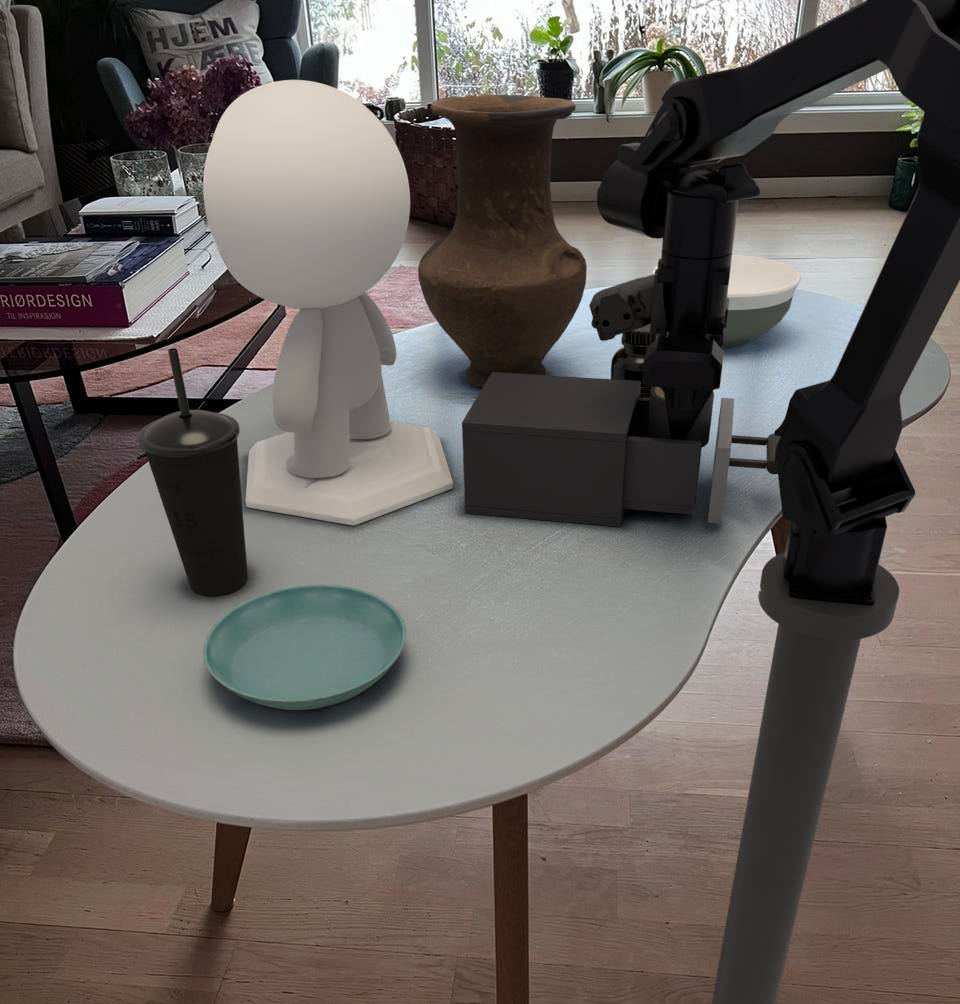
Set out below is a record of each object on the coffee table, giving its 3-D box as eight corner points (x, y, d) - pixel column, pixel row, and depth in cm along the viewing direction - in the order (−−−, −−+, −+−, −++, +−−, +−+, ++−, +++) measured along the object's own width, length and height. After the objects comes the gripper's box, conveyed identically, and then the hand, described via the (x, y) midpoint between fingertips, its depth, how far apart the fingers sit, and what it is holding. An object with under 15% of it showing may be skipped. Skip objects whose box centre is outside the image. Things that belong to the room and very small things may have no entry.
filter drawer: (774, 472, 99) (786, 401, 95) (775, 528, 90) (788, 452, 86) (588, 458, 103) (591, 389, 98) (571, 511, 94) (573, 436, 89)
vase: (615, 381, 122) (631, 100, 105) (482, 420, 113) (475, 121, 96) (520, 339, 135) (520, 84, 118) (395, 371, 127) (375, 101, 109)
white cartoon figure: (297, 421, 114) (250, 65, 94) (489, 448, 107) (481, 69, 87) (195, 499, 99) (113, 94, 79) (410, 536, 92) (380, 101, 72)
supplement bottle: (679, 429, 110) (690, 318, 103) (661, 454, 105) (671, 339, 98) (619, 420, 113) (625, 311, 106) (598, 444, 108) (603, 331, 101)
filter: (710, 429, 95) (715, 380, 92) (707, 453, 91) (713, 404, 88) (649, 424, 96) (653, 377, 93) (643, 449, 92) (647, 399, 89)
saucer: (188, 731, 70) (181, 701, 69) (230, 613, 82) (225, 585, 81) (402, 727, 70) (399, 697, 69) (413, 609, 82) (411, 581, 81)
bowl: (632, 318, 142) (636, 256, 137) (763, 310, 143) (771, 249, 138) (667, 365, 126) (673, 298, 122) (813, 356, 128) (825, 289, 123)
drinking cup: (186, 558, 90) (137, 333, 78) (272, 558, 90) (235, 332, 78) (161, 605, 84) (104, 368, 72) (253, 605, 83) (211, 367, 72)
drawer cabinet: (635, 467, 103) (641, 380, 98) (620, 527, 93) (626, 433, 88) (493, 457, 106) (492, 371, 100) (464, 513, 96) (461, 422, 90)
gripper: (612, 220, 93) (604, 385, 102) (583, 278, 78) (576, 465, 87) (737, 224, 91) (718, 392, 100) (732, 284, 76) (709, 475, 85)
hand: (679, 428), depth 93 cm, fingers closed on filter, 5 cm apart
